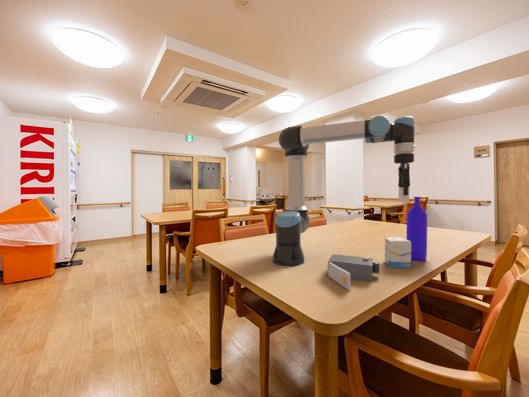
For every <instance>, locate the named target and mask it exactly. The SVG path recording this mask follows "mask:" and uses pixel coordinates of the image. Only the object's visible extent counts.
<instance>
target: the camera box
mask: <svg viewBox="0 0 529 397" xmlns="http://www.w3.org/2000/svg"><path fill="white" fill-rule="evenodd" d="M373 260H374V259H373V257H367V256H354V255H342V254H335V253H334V254H333V253H332V254H331V255H330V257H329V259H328V261H327V263H328V262H331V263H333V264H334V265H336V266H338V267H340V268H342V269H343V270H345V271H347V272H349V273H350V274H351V280H352V279H353V280H356V281H357V280H359V281H366V282H373V274H378V275H380V262H374V261H373Z"/></svg>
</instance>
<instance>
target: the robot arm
mask: <svg viewBox="0 0 529 397" xmlns="http://www.w3.org/2000/svg"><path fill="white" fill-rule="evenodd" d="M415 129H416V128H415V118H414V117H413V116H409V115H408V116H402V117H397V118H396V119H395V120H394V121H393V123H390V120H389V119H388V117H387V116H385V115H376V116H374V117H372V118H370V119H362V120H354V121H346V122H337V123H330V124H322V125H313V126H307V127H306V126H304V125H303V124H302V125H294V126H288V127H285V128H284V129H282V130H281V132H280V133H279V136H278V144H279V146H280V148H281V149H282V150H284V159H286V161H287V192H288V193H287V197H288V198H287V202H288V204H287V207H286V208H285V211H282V212H278V213H277V214H276V215H275V241H276V242H275V244H276V245H275V248H274V251H273V254H272V262H273V263H274V264H277V265H280V266H287V267H288V266H289V267H293V266H298V265H301V264H304V262H305V255H304V252H303V248H302V245H301V234H303V233H305V232H306V231H307V230H308V228H309V227H310V223H311V221H310V217H309V214H308V213H309V212H308V207H306V205H305V203H306V202H305V200H306V198H305V160H306V159H307V158H308V150H309V148H310V145H312V144H313V145H315V144H323V143H333V142H343V141H352V140H365V143H366V144H377V143H386V142H387V143H388V142H394V144H393V153H394V154H395V155H394V156H393V163H394V164H399V166H398V169H397V170H398V184H397V187H398V202H401V204H410V186H411V177H410V169H411V168H410V164H412V163H414V162H415V154H414V152H415V148H417V147H416V145H415Z"/></svg>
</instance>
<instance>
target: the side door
mask: <svg viewBox="0 0 529 397" xmlns="http://www.w3.org/2000/svg"><path fill="white" fill-rule="evenodd" d="M327 277H328V278H330V279H332V280H333V281H335V282H336V283H338V284H339V285H340V286H341V287H343V288H345V289H346V290H348V291H349V290H350V291H351V288H352V287H351V286H352V284H351V283H352V281H351V280H352V279H351V274H350V273H349V272H347V271H345V270H343V269H342V268H340V267H338V266H336V265H334V264H333V263H331V262H328V261H327Z"/></svg>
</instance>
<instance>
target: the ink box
mask: <svg viewBox="0 0 529 397" xmlns="http://www.w3.org/2000/svg"><path fill="white" fill-rule="evenodd" d="M384 262H385V264H386V265H388V266H389V267H390V268H399V269H400V268H401V269H411V268H412V260H411V242H410V241H409V240H407V238H405V237H398V236H397V237H395V236H391V237H390V236H389V237H384Z"/></svg>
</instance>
